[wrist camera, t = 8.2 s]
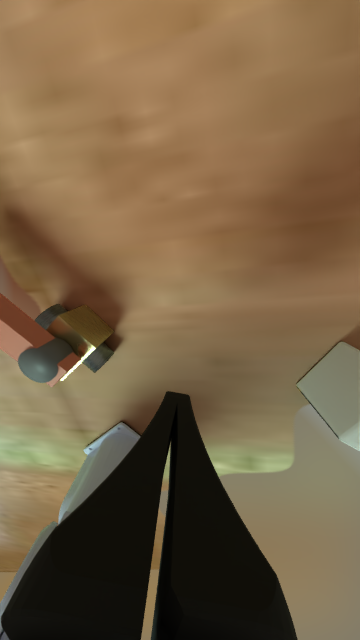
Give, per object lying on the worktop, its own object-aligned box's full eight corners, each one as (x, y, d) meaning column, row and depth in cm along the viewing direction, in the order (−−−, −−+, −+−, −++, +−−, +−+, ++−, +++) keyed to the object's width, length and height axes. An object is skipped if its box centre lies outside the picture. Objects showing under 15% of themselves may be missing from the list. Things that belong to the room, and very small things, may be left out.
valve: (96, 368, 23) (75, 392, 19) (45, 325, 21) (10, 341, 17) (125, 341, 21) (109, 360, 17) (72, 292, 19) (41, 301, 15)
